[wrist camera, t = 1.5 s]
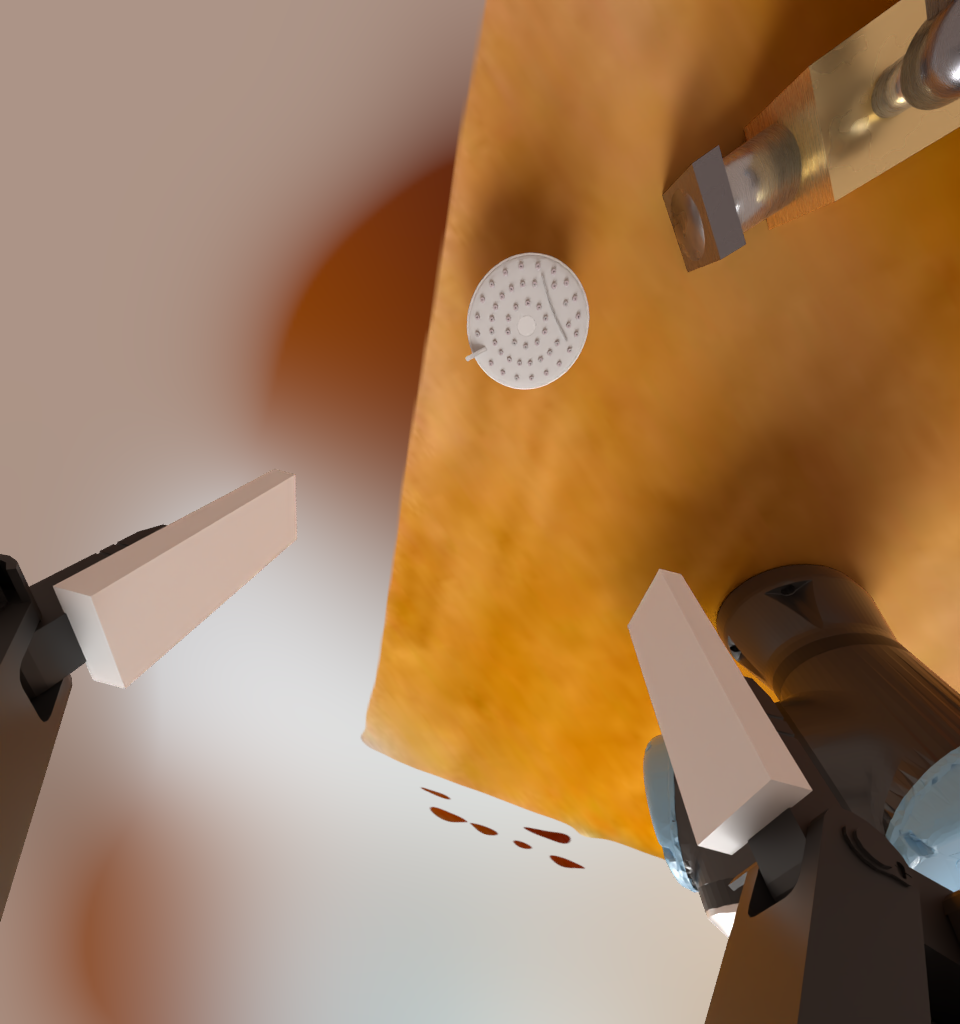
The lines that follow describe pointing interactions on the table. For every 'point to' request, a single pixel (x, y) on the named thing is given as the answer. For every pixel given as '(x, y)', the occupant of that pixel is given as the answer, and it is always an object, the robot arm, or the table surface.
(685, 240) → the pipe in
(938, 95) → the lever
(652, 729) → the table surface
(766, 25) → the table surface
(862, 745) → the robot arm
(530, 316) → the showerhead
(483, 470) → the table surface
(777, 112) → the valve
